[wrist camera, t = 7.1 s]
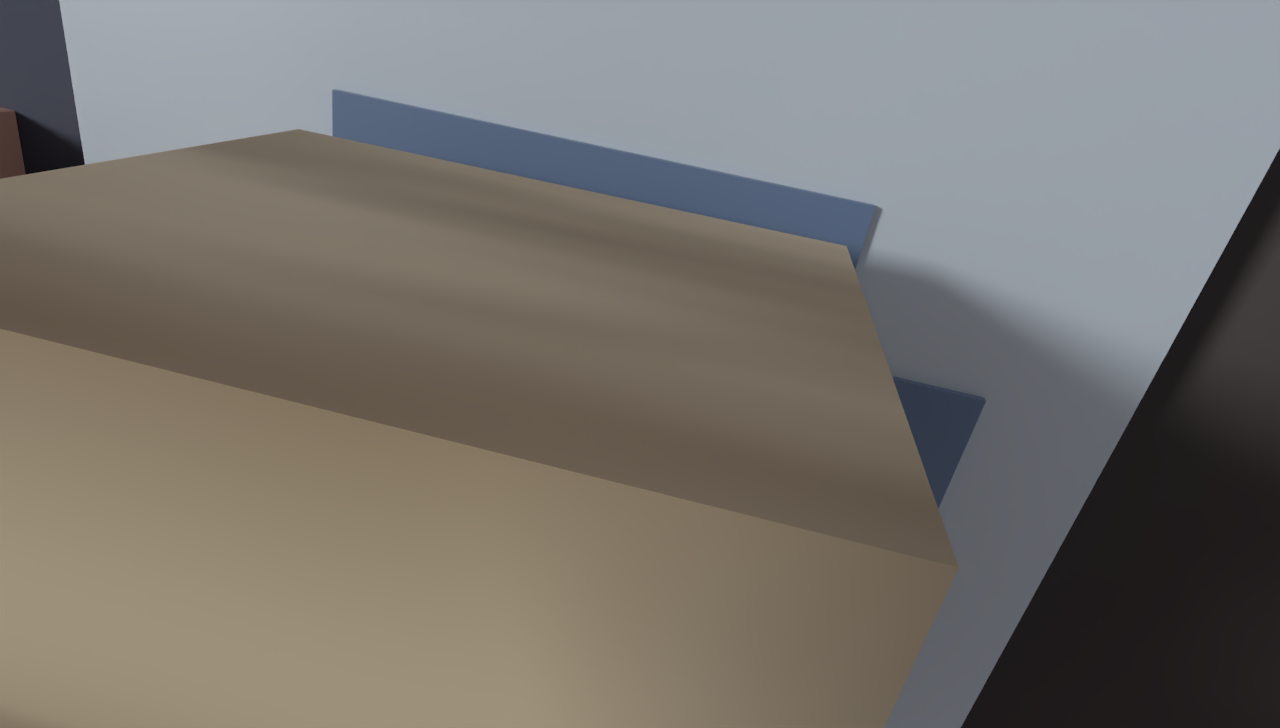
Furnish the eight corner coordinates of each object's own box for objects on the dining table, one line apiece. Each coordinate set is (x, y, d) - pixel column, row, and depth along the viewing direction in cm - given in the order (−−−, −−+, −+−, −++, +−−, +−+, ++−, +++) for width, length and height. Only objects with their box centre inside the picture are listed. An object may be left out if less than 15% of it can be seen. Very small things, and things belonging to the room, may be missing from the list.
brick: (664, 841, 12) (592, 1351, 7) (318, 740, 12) (43, 1154, 8) (846, 245, 7) (958, 568, 3) (298, 129, 8) (-362, 239, 3)
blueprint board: (843, 889, 14) (847, 940, 13) (201, 698, 15) (169, 734, 15) (1301, 11, 7) (1364, 6, 7) (85, -211, 9) (14, -239, 8)
